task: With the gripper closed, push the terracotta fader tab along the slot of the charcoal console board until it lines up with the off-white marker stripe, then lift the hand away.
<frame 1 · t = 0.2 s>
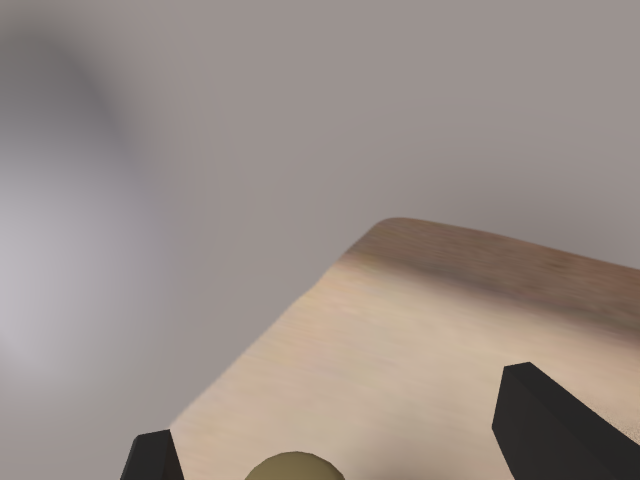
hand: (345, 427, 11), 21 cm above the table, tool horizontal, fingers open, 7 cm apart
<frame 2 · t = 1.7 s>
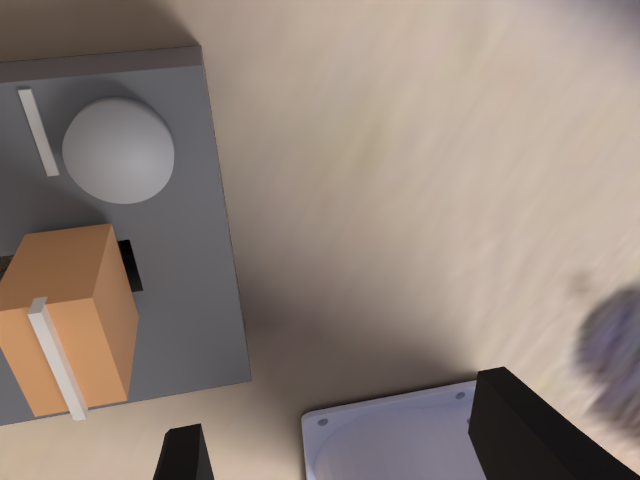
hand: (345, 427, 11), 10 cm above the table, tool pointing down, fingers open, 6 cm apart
fader tab: (81, 293, 16), point 3 cm above the table, slide at -4.5 cm
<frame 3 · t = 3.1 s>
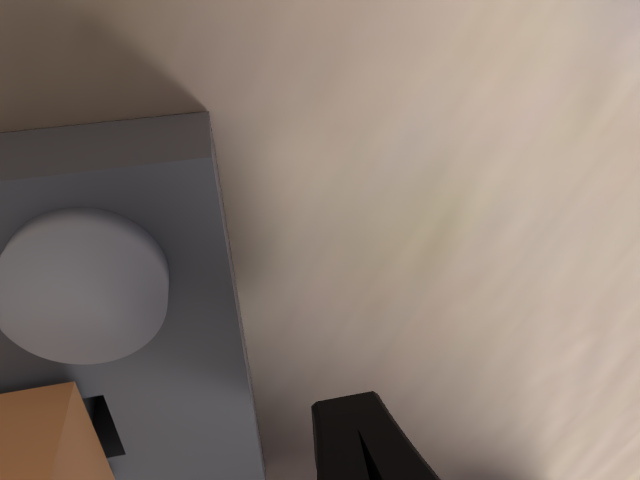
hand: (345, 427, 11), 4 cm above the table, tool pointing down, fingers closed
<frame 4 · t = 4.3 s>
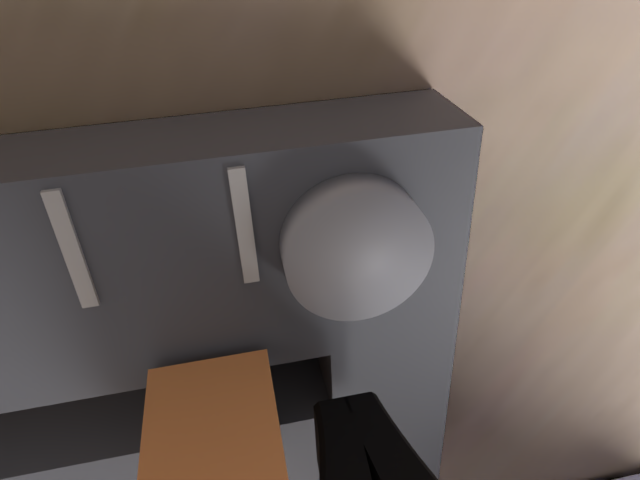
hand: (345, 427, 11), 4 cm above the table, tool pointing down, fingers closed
console board: (82, 358, 14), on the table
fader tab: (222, 447, 11), point 3 cm above the table, slide at -3.4 cm, touching gripper
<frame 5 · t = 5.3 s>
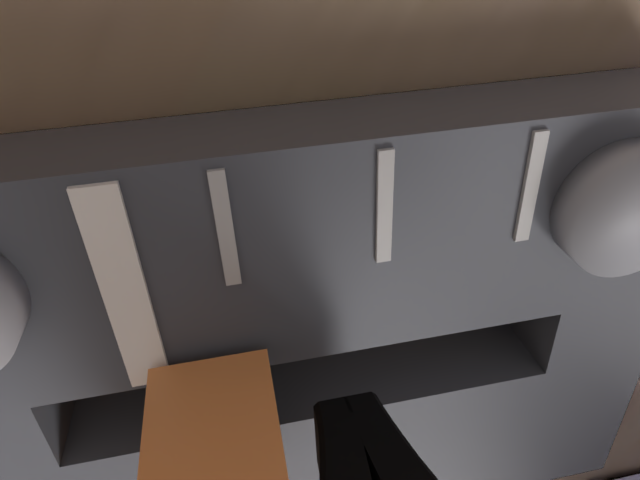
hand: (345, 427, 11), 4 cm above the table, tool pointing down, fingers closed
console board: (300, 322, 14), on the table
fader tab: (222, 446, 11), point 3 cm above the table, slide at 2.2 cm, touching gripper
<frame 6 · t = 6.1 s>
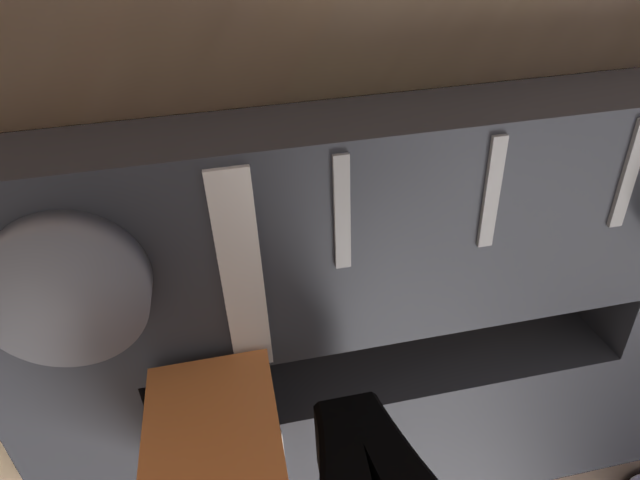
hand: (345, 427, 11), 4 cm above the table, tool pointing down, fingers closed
console board: (377, 309, 15), on the table
fader tab: (222, 446, 11), point 3 cm above the table, slide at 4.4 cm, touching gripper
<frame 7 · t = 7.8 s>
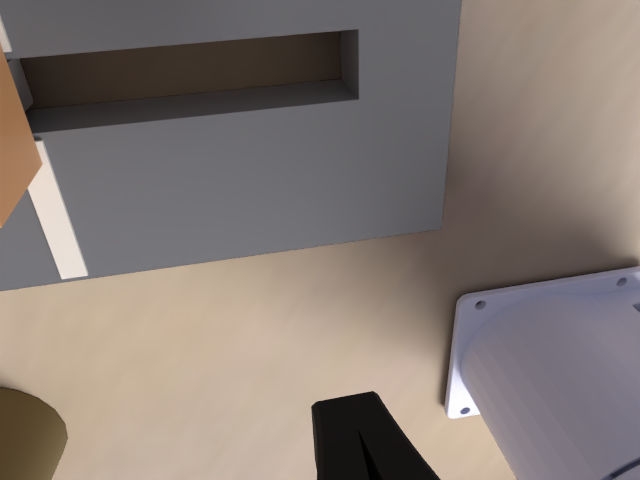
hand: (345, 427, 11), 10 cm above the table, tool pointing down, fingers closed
console board: (153, 65, 17), on the table
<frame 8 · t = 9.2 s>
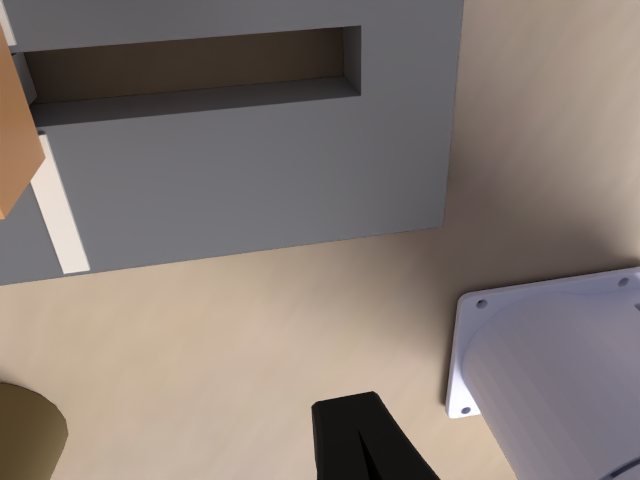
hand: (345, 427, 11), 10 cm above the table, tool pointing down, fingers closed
console board: (157, 60, 17), on the table
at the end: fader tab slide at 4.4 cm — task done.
